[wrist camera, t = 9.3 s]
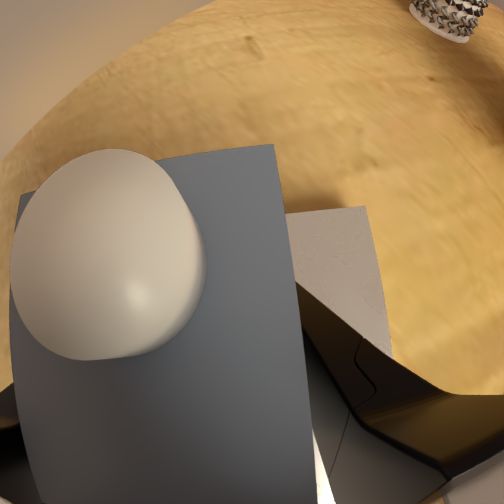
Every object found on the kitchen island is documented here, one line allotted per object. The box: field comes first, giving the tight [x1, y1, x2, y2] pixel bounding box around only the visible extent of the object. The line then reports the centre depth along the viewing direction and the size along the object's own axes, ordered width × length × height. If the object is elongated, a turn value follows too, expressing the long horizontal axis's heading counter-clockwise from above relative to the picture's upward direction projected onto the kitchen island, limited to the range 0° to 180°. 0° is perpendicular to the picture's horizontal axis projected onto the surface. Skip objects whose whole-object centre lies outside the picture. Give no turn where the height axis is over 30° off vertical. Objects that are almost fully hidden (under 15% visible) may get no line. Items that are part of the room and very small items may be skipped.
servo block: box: [9, 144, 318, 504], centre depth 9 cm, size 9×4×14 cm, turn 6°
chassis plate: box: [285, 206, 393, 504], centre depth 14 cm, size 22×16×2 cm
